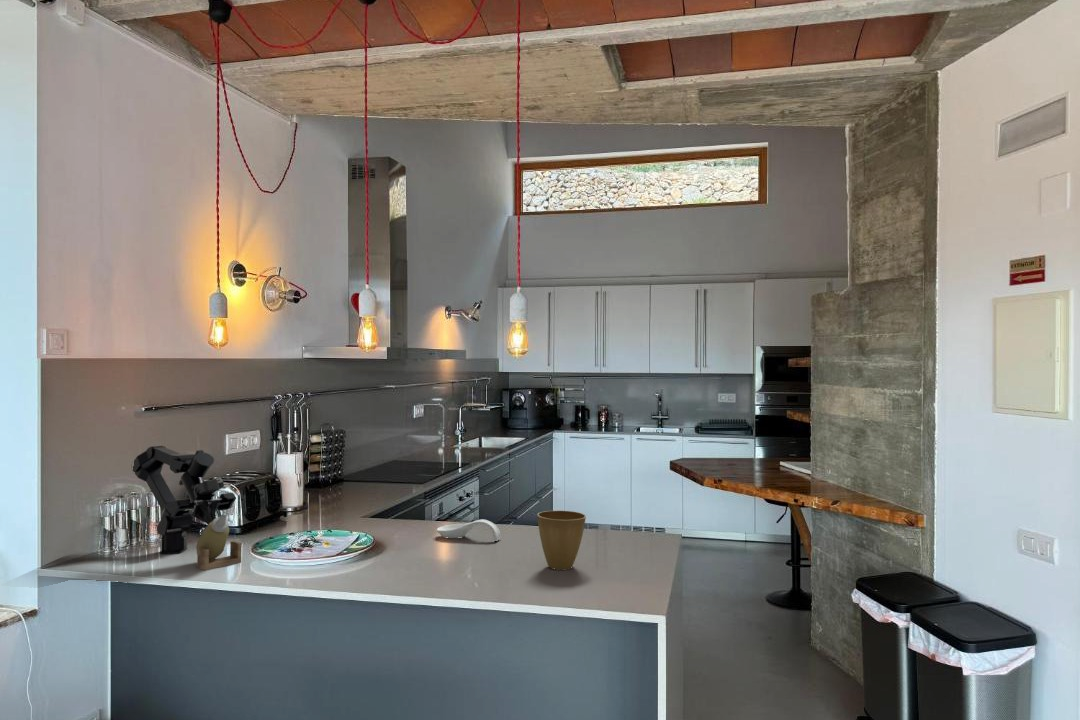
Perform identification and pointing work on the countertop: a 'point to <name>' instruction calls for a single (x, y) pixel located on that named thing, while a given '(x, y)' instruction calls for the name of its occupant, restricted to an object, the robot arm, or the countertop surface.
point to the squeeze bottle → (214, 537)
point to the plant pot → (561, 536)
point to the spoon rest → (466, 529)
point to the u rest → (208, 564)
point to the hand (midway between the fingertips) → (214, 526)
